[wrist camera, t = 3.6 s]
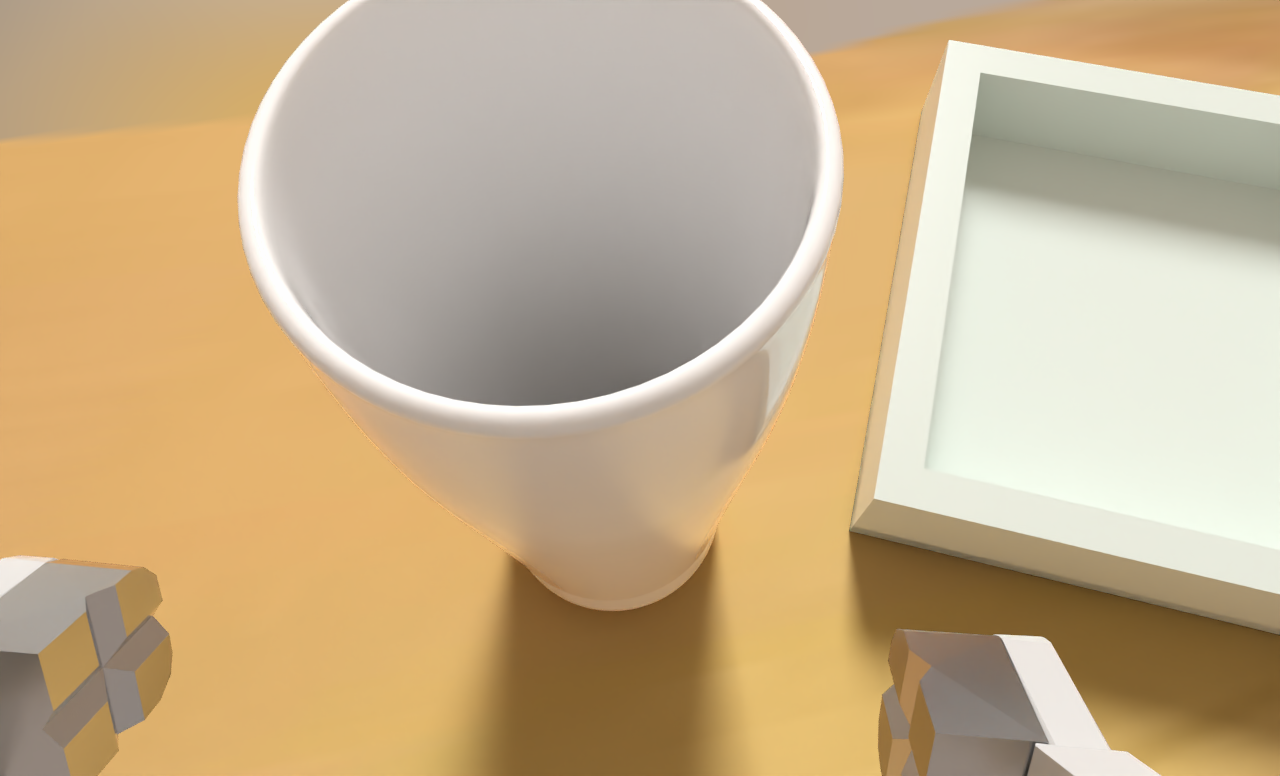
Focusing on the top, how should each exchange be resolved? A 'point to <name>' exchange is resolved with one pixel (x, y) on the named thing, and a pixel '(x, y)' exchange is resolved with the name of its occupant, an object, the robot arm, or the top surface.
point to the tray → (1087, 335)
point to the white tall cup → (552, 260)
